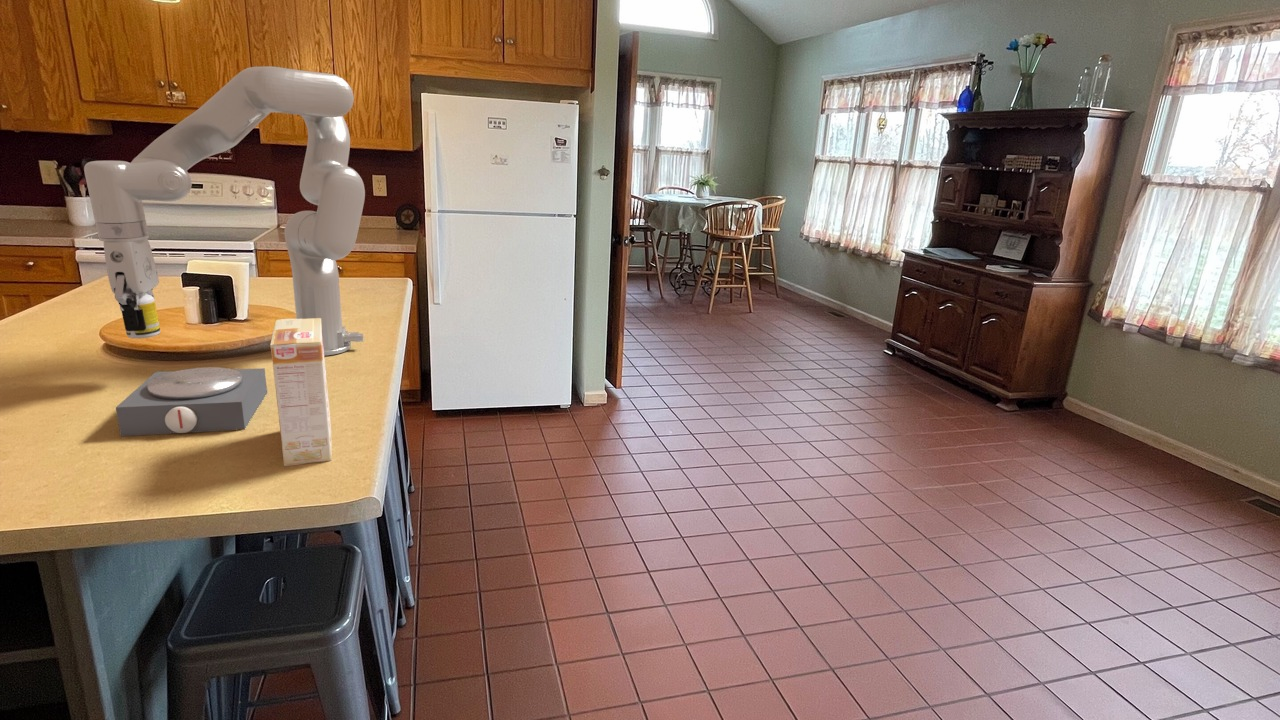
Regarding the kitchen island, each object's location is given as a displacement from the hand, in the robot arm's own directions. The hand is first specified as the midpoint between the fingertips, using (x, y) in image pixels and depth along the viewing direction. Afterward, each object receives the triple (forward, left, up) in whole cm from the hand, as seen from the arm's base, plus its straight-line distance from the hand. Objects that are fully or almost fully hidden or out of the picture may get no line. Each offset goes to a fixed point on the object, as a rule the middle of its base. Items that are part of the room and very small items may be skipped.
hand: (142, 324), depth 134 cm
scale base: (-13, +18, -11) cm, 26 cm away
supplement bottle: (0, 0, -2) cm, 2 cm away
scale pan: (-13, +18, -6) cm, 24 cm away
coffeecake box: (-33, +35, -12) cm, 50 cm away
